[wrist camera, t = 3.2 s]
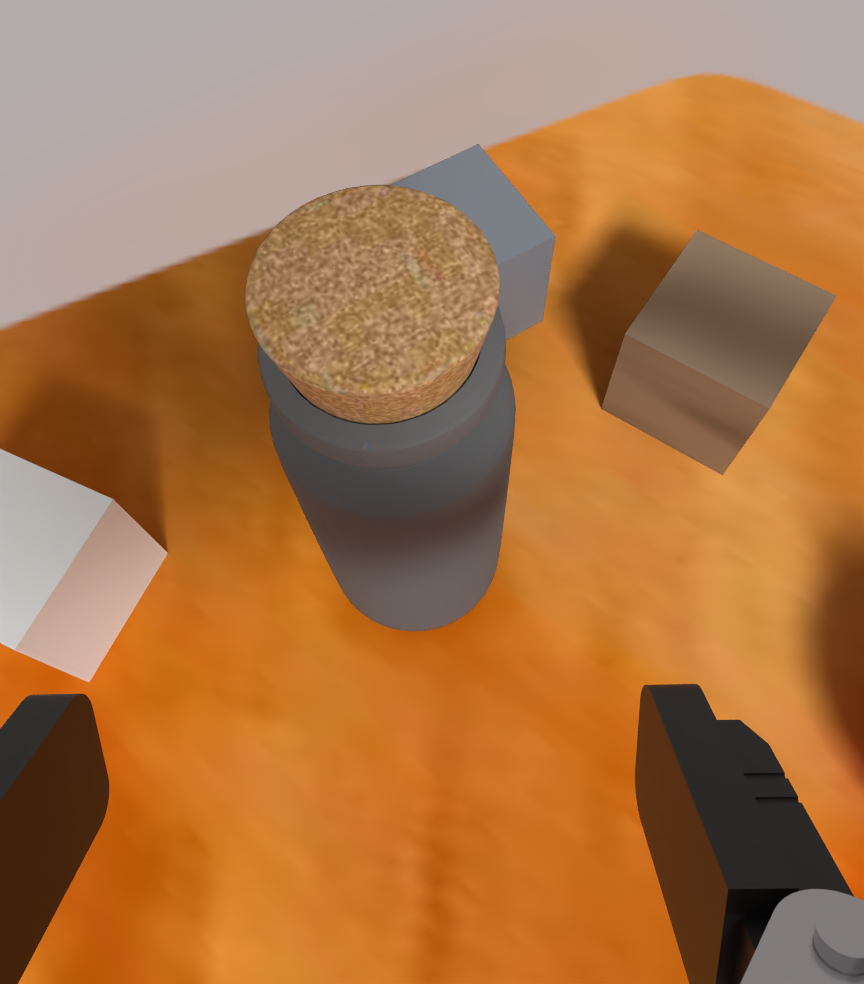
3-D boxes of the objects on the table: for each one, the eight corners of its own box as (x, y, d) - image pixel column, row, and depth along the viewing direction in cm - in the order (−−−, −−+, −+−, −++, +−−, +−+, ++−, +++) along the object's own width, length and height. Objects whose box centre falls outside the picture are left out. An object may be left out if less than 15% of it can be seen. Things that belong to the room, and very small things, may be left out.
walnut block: (663, 317, 32) (697, 229, 28) (781, 376, 31) (836, 295, 26) (600, 409, 31) (625, 333, 26) (721, 476, 29) (769, 408, 25)
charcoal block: (476, 237, 34) (478, 143, 30) (542, 322, 32) (555, 236, 28) (372, 289, 33) (358, 200, 29) (434, 378, 32) (429, 299, 27)
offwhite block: (54, 501, 30) (-20, 439, 25) (168, 553, 29) (113, 498, 24) (-29, 623, 28) (-125, 580, 24) (89, 683, 27) (14, 649, 23)
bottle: (320, 495, 30) (196, 192, 16) (476, 461, 30) (488, 135, 16) (348, 650, 27) (232, 453, 14) (517, 612, 28) (571, 381, 14)
